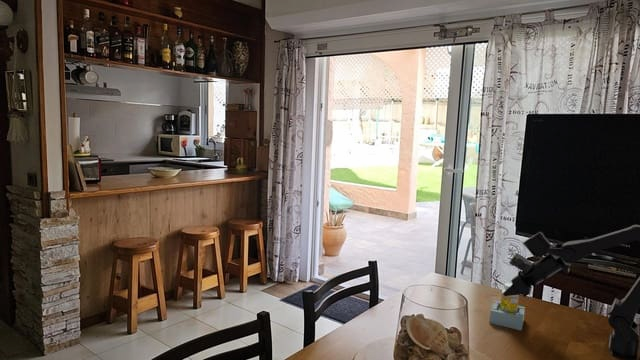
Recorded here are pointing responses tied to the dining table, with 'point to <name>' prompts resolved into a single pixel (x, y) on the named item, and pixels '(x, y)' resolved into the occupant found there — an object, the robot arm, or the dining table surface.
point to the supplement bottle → (509, 301)
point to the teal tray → (507, 317)
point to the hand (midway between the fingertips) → (505, 292)
